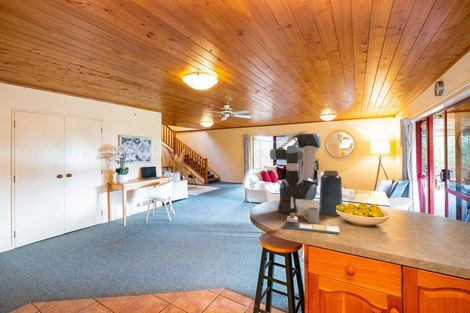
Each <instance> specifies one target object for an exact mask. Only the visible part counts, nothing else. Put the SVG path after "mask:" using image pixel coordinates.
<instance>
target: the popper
mask: <svg viewBox="0 0 470 313" xmlns="http://www.w3.org/2000/svg"><path fill="white" fill-rule="evenodd" d="M295 214H296V213H290V214H289V215H288V216H287V217H286V218H287V219H286V221H289V222H297V221H299V220H298V217H297V216H295Z"/></svg>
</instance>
